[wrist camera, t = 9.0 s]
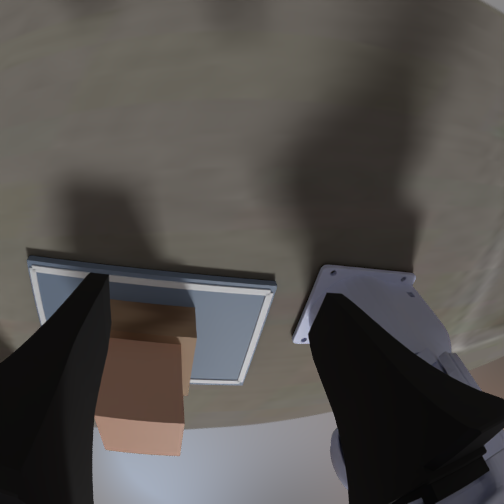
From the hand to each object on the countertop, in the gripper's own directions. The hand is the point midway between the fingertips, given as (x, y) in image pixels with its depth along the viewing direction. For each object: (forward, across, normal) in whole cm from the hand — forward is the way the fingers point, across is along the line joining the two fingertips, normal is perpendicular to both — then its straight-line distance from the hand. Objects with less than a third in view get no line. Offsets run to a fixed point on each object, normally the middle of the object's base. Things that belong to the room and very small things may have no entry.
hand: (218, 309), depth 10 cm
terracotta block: (+7, +3, +12) cm, 14 cm away
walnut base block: (+10, +3, +12) cm, 16 cm away
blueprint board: (+10, +3, +12) cm, 16 cm away
